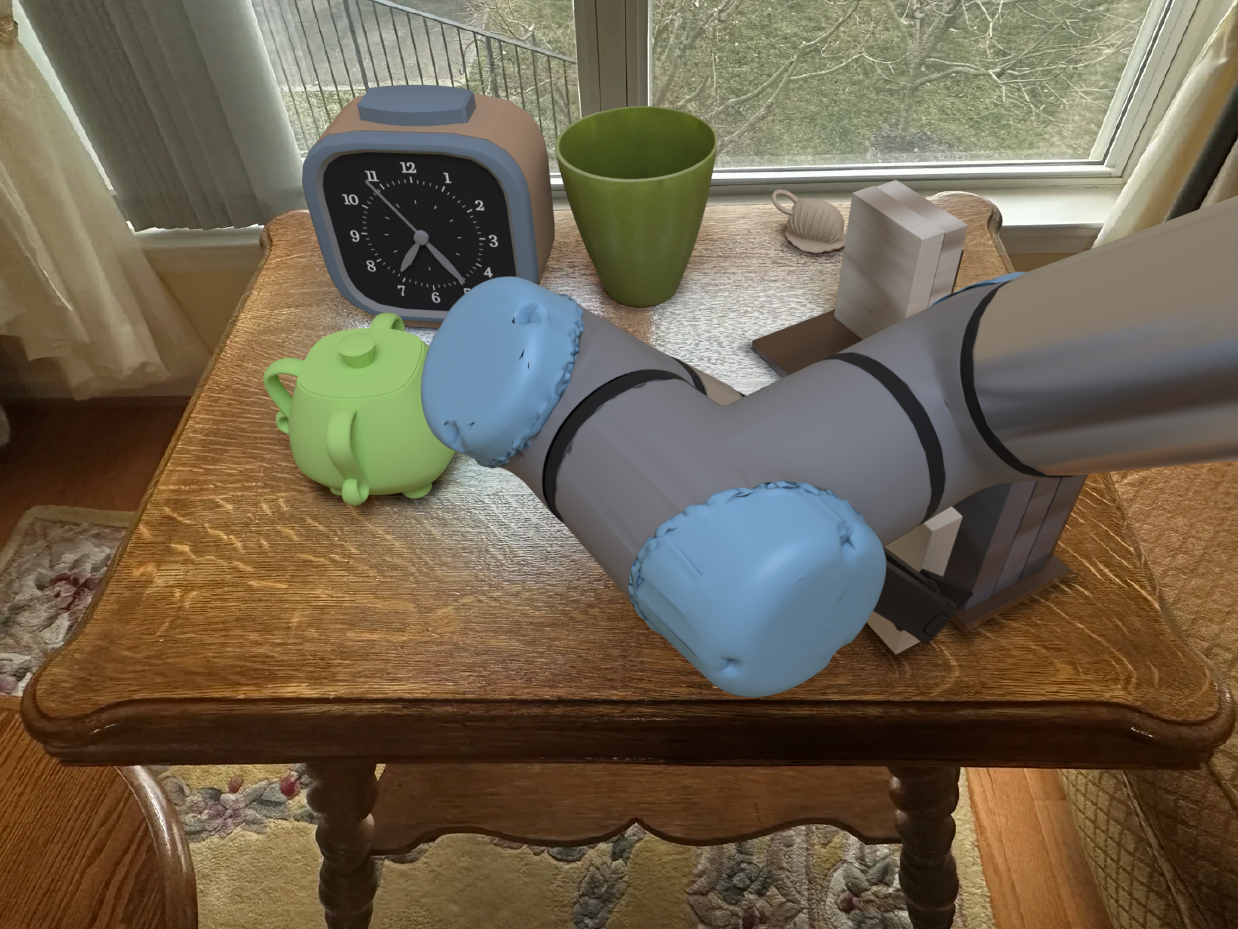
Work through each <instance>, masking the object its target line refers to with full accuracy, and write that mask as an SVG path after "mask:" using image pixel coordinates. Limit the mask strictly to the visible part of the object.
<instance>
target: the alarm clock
mask: <svg viewBox="0 0 1238 929" xmlns="http://www.w3.org/2000/svg"><path fill="white" fill-rule="evenodd" d="M548 154H549V153H548V149H547V144H546V141H545V138H544V135H543V133H542V131H541V129H540V127H539V124H538V123H537V122H536V121H535V120H534V118H533V117H532V115H531V114H530V113H529V112H528V111H527V110H525V108H522V107H521V106H519V105H518V104H517V103H515V102H513V101H512V100H510V99H506V98H501V97H495V96H491V95H485V94H479V93H475V92H474V91H472V89H468V88H463V87H456V86H448V85H440V84H439V85H437V84H436V85H435V84H394V85H393V84H391V85H382V86H372V87H371V86H370V87H369V88H368V90H367V91H366V92H365V94H362V95H357V96H356V97H354V98H353V99H352V100H351V101H349V102H347V103H346V104H345V105H344V106H343V108H342V109H341V110H340V111H339V113H338V114H337V115H336V117H334V119H333V120H332V121H331V123H330V124H329V125H328V127H327V128H326V129H325V130H324V131H323V133H322V134H321V135H320V137H319V138H318V139H317V140H316V141H315V143H314V144H313V145H312V146H311V148H310V149H309V151H308V153H307V155H306V156H305V158H304V161H303V163H302V169H301V170H302V172H301V185H302V190H303V195H304V199H305V202H306V207H307V209H308V213H309V215H310V220H311V223H312V226H313V230H314V233H315V236H316V239H317V242H318V246H319V249H320V253H321V256H322V259H323V262H324V265H325V269H326V270H327V273H328V276H329V278H330V280H331V282H332V284H333V285H334V286H335V288H336V289H337V291H338V292H339V294H340V295H341V296H342V297H343V298H344V299H345V300H346V301H347V302H348V303H349V304H350V305H352V306H353V307H355V308H357V309H359V310H361V311H363V312H364V313H366V314H368V315H373V316H377V315H379V314H381V313H393V314H397V315H398V316H400V317H401V319H402V320H403V323H404V327H417V328H430V329H439V328H440V326H441V325H442V323H443V321H444V318H445V316H446V314H447V313H448V312H449V310H450V309H451V308H452V306H453V305H454V304H455V303H456V302H457V301H458V300H459V299H460V298H461V297H462V296H463V295H464V294H466V293H467V292H468V291H470V290H471V289H473V288H474V287H475V286H477V285H479V284H481V283H483V282H485V281H488V280H491V279H494V278H499V277H519V278H522V279H525V280H528V281H530V282H533V283H535V284H537V285H539V286H540V283H541V281H542V278H543V275H544V273H545V271H546V270H545V269H546V267H547V264H548V261H549V258H550V255H551V253H552V250H553V246H554V243H555V238H556V237H555V236H556V224H555V213H554V212H555V211H554V202H553V192H552V182H551V181H552V180H551V172H550V171H551V170H550V160H549V155H548Z"/></svg>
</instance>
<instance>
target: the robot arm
mask: <svg viewBox="0 0 1238 929" xmlns="http://www.w3.org/2000/svg"><path fill="white" fill-rule="evenodd" d="M428 346H429V349H428V351H427V354H426V358H425V362H424V366H423V371H422V379H421V403H422V408H423V412H424V416H425V419H426V422H427V424H428V426H429V428H430V430H431V431H432V433H433V434H434V436H435V437H436V438H437V439H438V440H439V441H440V442H441V443H442V444H444V445H445V446H446V447H448V448H450V449H452V450H454V451H455V453H458V454H461V455H463V456H466V457H468V458H471V459H473V460H475V462H476V463H477V465H479V466H480V467H483V468H488V469H491V470H493V469H497V468H499V469H502V470H504V471H507V472H509V473H511V474H512V475H514V476H516V477H517V478H518V479H519V480H521V481H522V483H524V484H525V485H526V486H527V488H528V489H529V490H530V491H531V492H532V493H533V494H534V495H535V496H536V498H537V499H538V500H539V501H540V502H541V503H542V504H543V505H544V507H545V508H546V509H547V510H548V511H549V512H550V513H551V514H552V515H553V516H554V517H555V518H556V519H557V520H558V521H559V522H560V523H561V524H563V525H564V526H565V527H566V528H567V529H568V530H569V532H570V533H571V534H572V535H573V537H574V538H575V539H576V540H577V541H578V542H579V543H580V544H581V545H582V547H583V548H584V549H585V550H586V551H587V553H588V554H589V555H590V556H591V558H592V559H593V560H594V561H595V562H596V564H598V566H599V567H600V568H601V569H602V570H603V572H604V573H605V574H606V575H607V576H608V578H609V579H610V580H611V582H613V583H614V585H616V587H617V588H618V589H619V590H620V592H622V594H623V595H624V596H625V598H626V599H628V601H629V602H630V603H631V604H632V606H633V609H634V612H635V614H637V616H638V617H639V618H640V619H642V620H643V621H644V622H645V624H646V626H648V628H649V629H650V630H652V631H653V632H655V633H657V634H658V635H659V637H660V636H661V637H663V638H664V639H665V640H666V641H667V642H668V643H669V644H670V645H671V646H672V647H673V648H674V649H676V651H678V652H679V653H680V655H682V657H684V658H685V659H686V660H687V661H688V662H689V663H690V664H691V665H692V666H693V667H694V668H695V669H696V670H697V671H698V672H699V673H700V674H701V675H702V676H703V677H705V679H706V680H708V682H710V683H711V684H712V685H713V686H714V687H717V688H718V689H719V690H722V691H723V692H724V693H725V692H726V693H728V694H731V695H733V696H736V697H744V698H763V697H770V696H773V695H778V694H781V693H784V692H786V691H789V690H792V689H794V688H795V687H798V686H799V685H801V684H803V683H806V681H808V680H810V679H811V678H813V677H814V676H816V675H817V674H819V673H820V672H822V671H823V670H824V669H825V668H827V666H828V665H829V664H830V662H831V660H832V658H833V656H834V655H835V654H836V653H837V652H838V651H839V650H840V649H841V648H842V647H844V646H846V645H849V644H851V643H852V642H853V641H854V640H855V638H856V637H857V636H858V635H859V633H860V632H861V631H862V629H863V628H864V627H865V625H866V624H867V620H868V619H869V617H870V615H871V613H872V612H873V611H874V612H876V613H877V614H879V615H881V616H882V617H884V618H885V619H887V620H889V621H890V622H892V623H893V624H894V626H895V627H896V629H897V630H898V631H900V632H902V631H903V630H905V631H906V632H908V633H909V634H911V635H913V636H914V637H916V638H917V639H918V640H919V641H920V642H922V643H923V644H925V645H929V644H930V643H931V642H932V641H933V640H934V639H935V638H936V636H938V635H939V634H940V633H941V631H942V630H944V629H945V627H947V626H948V624H949V623H950V622H951V620H952V619H953V618H954V617H955V616H956V615H957V614H958V613H959V612H958V610H959V609H960V608H961V607H962V606H963V605H964V604H965V603H966V602H967V601H968V600H969V599H970V597H971V596H972V595H973V594H974V593H973V592H972V591H971V590H970V589H969V588H967V587H966V586H965V585H963V584H960V583H958V582H955V581H953V580H950V579H948V578H945V577H943V576H940V575H938V574H935V573H933V572H930V571H928V570H925V569H923V568H922V569H921V570H920V572H918V571H917V570H915V569H914V568H912V567H911V566H910V565H908V564H907V563H906V562H904V561H903V560H902V559H900V558H899V557H898V556H896V555H895V554H894V553H892V552H891V551H890V550H888V549H887V548H886V547H885V546H887V545H889V544H890V543H892V542H894V541H895V540H897V539H899V538H900V537H902V536H904V535H905V534H907V533H909V532H910V531H912V530H913V529H915V528H916V527H917V526H919V525H922V524H923V523H925V522H926V521H928V520H929V519H931V518H933V517H935V516H936V515H938V514H940V513H941V512H943V511H945V510H946V509H948V508H950V507H951V506H953V505H955V504H957V503H958V502H960V501H962V500H963V499H965V498H967V497H968V496H970V495H972V494H973V493H975V492H977V491H980V490H982V489H985V488H987V487H990V486H994V485H998V484H1003V483H1014V482H1026V481H1037V480H1047V479H1057V478H1066V477H1073V476H1075V475H1084V474H1089V475H1094V474H1095V475H1096V474H1104V473H1117V472H1127V471H1128V472H1129V471H1137V470H1138V471H1139V470H1149V469H1159V468H1160V469H1161V468H1171V467H1181V466H1193V465H1204V464H1205V465H1206V464H1214V463H1215V464H1216V463H1226V462H1236V461H1238V195H1235V196H1232V197H1230V198H1226V199H1224V200H1221V201H1218V202H1215V203H1213V204H1210V205H1207V206H1204V207H1202V208H1199V209H1196V210H1194V211H1191V212H1188V213H1186V214H1183V215H1181V216H1177V217H1176V218H1171V219H1169V220H1166V221H1164V222H1161V223H1158V224H1156V225H1153V226H1150V227H1147V228H1144V229H1142V230H1139V231H1136V232H1133V233H1130V234H1127V235H1125V236H1122V237H1119V238H1116V239H1114V240H1111V241H1109V242H1106V243H1103V244H1099V245H1097V246H1095V247H1091V248H1089V249H1086V250H1084V251H1081V252H1078V253H1076V254H1073V255H1071V256H1068V257H1065V258H1062V259H1059V260H1057V261H1054V262H1051V263H1048V264H1045V265H1043V266H1040V267H1038V268H1037V267H1036V268H1035V269H1032V270H1029V271H1015V272H1008V273H1004V274H1002V275H998V276H995V277H993V278H991V279H984V280H981V281H978V282H975V283H973V284H970V285H966V286H964V287H962V288H960V289H958V290H957V291H954V292H953V293H951V294H949V295H947V296H945V297H943V298H941V299H939V300H937V301H936V302H934V303H933V304H932V305H931V306H930V307H929V308H927V309H925V310H923V311H921V312H919V313H916V314H914V315H912V316H910V317H908V318H906V319H904V320H902V321H900V322H898V323H896V324H894V325H892V326H890V327H888V328H886V329H884V330H882V331H880V332H878V333H876V334H874V335H872V336H870V337H868V338H866V339H864V340H862V341H860V342H858V343H856V344H854V345H852V346H850V347H848V348H846V349H844V350H842V351H840V352H838V353H836V354H833V355H828V356H827V357H825V358H824V359H822V360H820V361H817V362H815V363H814V364H812V365H810V366H808V367H805V368H803V369H801V370H799V371H797V372H795V373H793V374H791V375H789V376H786V377H784V378H782V377H781V378H780V379H778V380H776V381H774V382H771V383H769V384H768V385H765V386H763V387H760V388H758V389H757V390H755V391H753V392H751V393H748V394H747V395H746V394H744V393H742V392H740V391H739V390H737V389H735V388H734V387H733V386H732V385H730V384H727V383H726V382H724V381H722V380H720V379H719V378H716V377H714V376H713V375H711V374H709V373H707V372H704V371H703V370H701V369H699V368H697V367H695V366H693V365H691V364H689V363H688V362H685V361H683V360H682V359H679V358H678V357H674V356H672V355H669V354H666V353H665V352H662V351H661V350H659V349H658V348H656V347H655V346H653V345H651V344H649V343H647V342H645V341H643V340H641V339H640V338H638V337H637V336H635V335H633V334H631V333H630V332H628V331H627V330H625V329H623V328H621V327H619V326H617V325H615V324H614V323H611V321H608V320H607V319H604V318H603V317H602V316H599V315H598V314H596V313H594V312H592V311H590V310H589V309H588V308H585V307H584V306H582V305H580V304H579V302H578V301H577V300H576V299H575V298H574V297H572V296H570V295H568V294H567V293H561V294H559V293H557V292H555V291H553V290H550V289H548V288H546V287H544V286H541V285H540V284H539V285H537V284H535V283H533V282H530V281H528V280H525V279H522V278H519V277H499V278H494V279H491V280H488V281H485V282H483V283H481V284H479V285H477V286H475V287H474V288H473V289H471V290H470V291H468V292H467V293H466V294H464V295H463V296H462V297H461V298H460V299H459V300H458V301H457V302H456V303H455V304H454V305H453V306H452V308H451V309H450V310H449V312H448V313H447V314H446V316H445V318H444V321H443V323H442V325H441V326H440V328H438V329H437V331H436V332H435V333H434V334H433V336H432V339H431V341H430V343H429V345H428Z"/></svg>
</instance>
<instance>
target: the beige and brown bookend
mask: <svg viewBox="0 0 1238 929" xmlns="http://www.w3.org/2000/svg"><path fill="white" fill-rule="evenodd" d="M968 227H969V224H967V223H966V222H964V221H963V220H961V219H959V218H958V217H956V216H955V215H953V214H951V213H950V212H948V211H946V210H945V209H944V208H942V207H941V206H940V205H937V204H935V203H934V202H933V201H930V200H929V199H927V198H926V197H924V196H922V195H921V194H919V193H918V192H916V191H915V190H913V189H912V188H910V187H908V186H907V185H905V184H904V183H902V182H900V181H899V180H897V179H895V180H891V181H888V182H886V183H883V184H880V185H877V186H876V185H871V186H868V187H865V188H862V189H860V190H856V191H853V192H852V194H851V201H850V207H849V213H848V220H847V227H846V228H847V229H846V235H845V236H846V240H845V246H843V254H842V261H841V268H840V274H839V280H838V287H837V294H836V301H835V307H834V309H831V310H828V311H826V312H823V313H821V314H818V315H816V316H813V317H810V318H807V319H805V320H802V321H800V322H797V323H795V324H791V325H789V326H786V327H784V328H781V329H778V330H776V331H773V332H771V333H768V334H766V335H763V336H760V337H758V338H755V339H752V340H751V350H752V351H754V353H755V354H756V355H758V356H759V357H760V358H761V359H762V360H763V361H764V362H765V363H766V364H767V365H768V366H769V367H771V368H772V369H773V371H774V372H776V373H777V374H778V375H779V376H780V377H781V379H782V378H784V377H786V376H789V375H791V374H793V373H795V372H797V371H799V370H801V369H803V368H805V367H808V366H810V365H812V364H814V363H815V362H817V361H820V360H822V359H824V358H825V357H827V356H828V355H833V354H836V353H838V352H840V351H842V350H844V349H846V348H848V347H850V346H852V345H854V344H856V343H858V342H860V341H862V340H864V339H866V338H868V337H870V336H872V335H874V334H876V333H878V332H880V331H882V330H884V329H886V328H888V327H890V326H892V325H894V324H896V323H898V322H900V321H902V320H904V319H906V318H908V317H910V316H912V315H914V314H916V313H919V312H921V311H923V310H925V309H927V308H929V307H930V306H931V305H932V304H933V303H934V302H936V301H937V300H939V299H941V298H943V297H945V296H947V295H949V294H951V293H954V292H955V288H956V284H957V280H958V276H959V273H960V268H961V264H962V260H963V256H964V253H965V250H964V249H963V247H964V242H965V238H966V235H967V231H968Z"/></svg>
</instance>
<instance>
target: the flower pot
mask: <svg viewBox="0 0 1238 929" xmlns="http://www.w3.org/2000/svg"><path fill="white" fill-rule="evenodd" d="M718 139H719V137H718V134H717V132H716V130H715V129H714V128H713V126H712V125H711V124H710V123H709V122H708V121H706V120H704V119H703V118H701V117H699V116H697V115H695V114H693V113H691V112H686V111H684V110H680V109H675V108H670V107H665V106H654V105H633V106H623V107H615V108H612V109H605V110H602V111H598V112H594V113H592V114H588V115H586V116H583V117H581V118H578V119H576V120H575V121H573V122H572V123H570V124H569V125H567V126H566V127H565V128H564V129H563V130H562V131H561V132H560V133H559V134H558V136H557V138H556V140H555V143H554V153H555V157H556V160H557V165H558V169H559V173H560V178H561V180H562V184H563V188H564V191H565V194H566V198H567V201H568V205H569V207H570V210H571V214H572V216H573V219H574V222H575V224H576V227H577V230H578V233H579V235H580V238H581V240H582V242H583V245H584V247H585V249H586V252H587V254H588V257H589V259H590V261H591V263H592V266H593V267H594V269H595V271H596V274H597V276H598V278H599V279H600V281H601V283H602V285H603V287H604V289H605V291H606V292H607V294H608V295H609V297H610V298H611V299H612V300H614V301H615V302H617V303H619V304H622V305H625V306H629V307H638V308H646V307H653V306H656V305H660V304H662V303H664V302H666V301H668V300H669V299H671V298H672V297H673V296H674V295H675V294H676V292H677V290H678V288H679V287H680V284H681V281H682V279H683V276H684V275H685V272H686V270H687V268H688V264H689V262H690V260H691V257H692V254H693V251H694V248H695V245H696V242H697V240H698V236H699V233H700V229H701V226H702V224H703V219H704V215H705V212H706V207H707V203H708V198H709V195H710V190H711V189H710V188H711V184H712V178H713V173H714V168H715V163H716V156H717V151H718V150H717V149H718V144H719V141H718Z"/></svg>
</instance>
